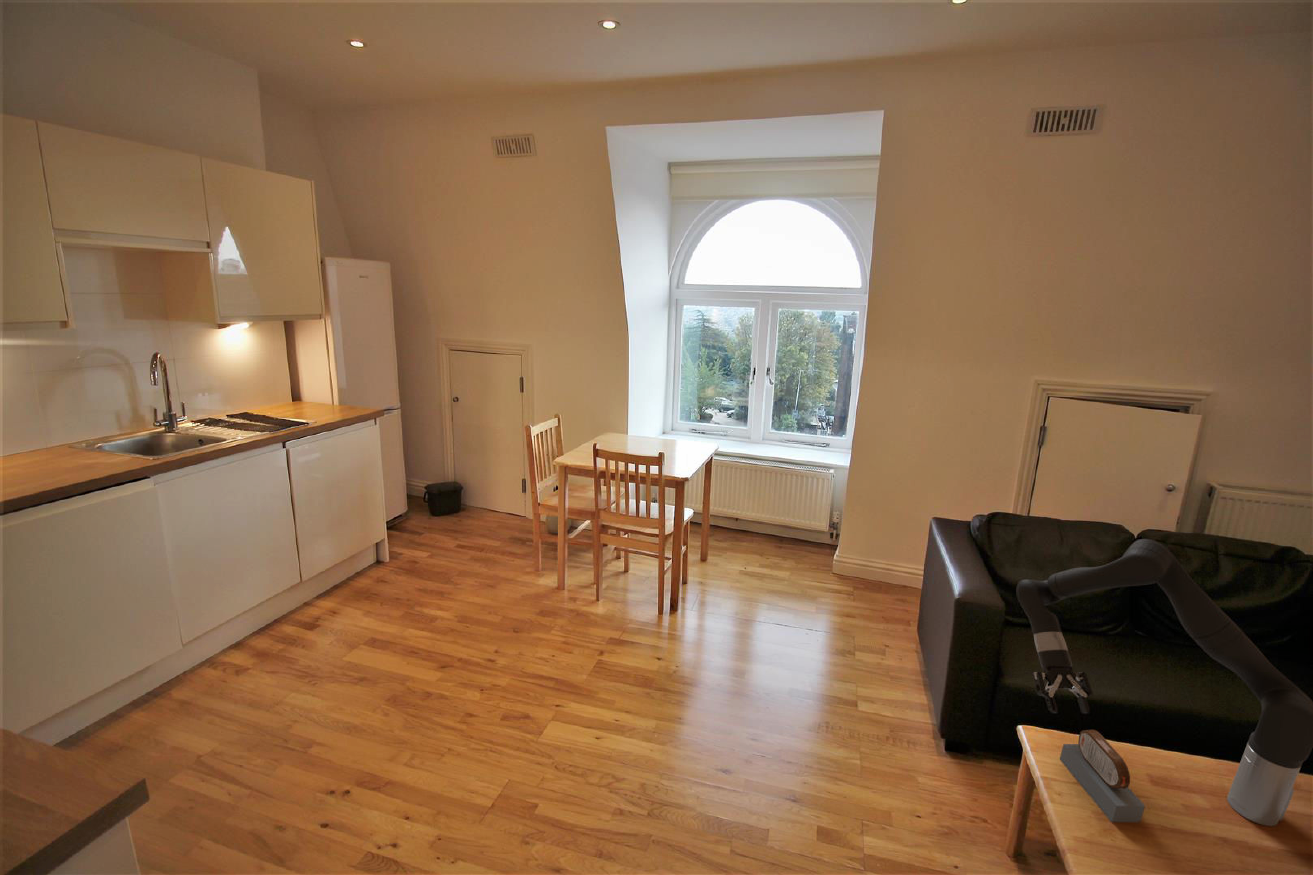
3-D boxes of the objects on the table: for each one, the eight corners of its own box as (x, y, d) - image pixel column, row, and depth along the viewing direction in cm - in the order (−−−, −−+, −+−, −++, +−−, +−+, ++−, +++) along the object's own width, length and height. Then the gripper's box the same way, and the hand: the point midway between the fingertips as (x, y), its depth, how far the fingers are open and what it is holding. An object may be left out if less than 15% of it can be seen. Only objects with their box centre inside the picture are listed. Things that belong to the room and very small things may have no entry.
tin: (1126, 796, 146) (1135, 768, 144) (1114, 796, 146) (1122, 768, 144) (1084, 748, 161) (1091, 722, 158) (1072, 748, 161) (1079, 721, 158)
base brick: (1085, 759, 164) (1089, 744, 162) (1140, 822, 146) (1145, 805, 144) (1059, 758, 164) (1063, 743, 162) (1111, 822, 145) (1116, 805, 144)
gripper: (1035, 647, 168) (1053, 711, 161) (1085, 648, 169) (1105, 712, 161) (1020, 652, 175) (1036, 713, 167) (1068, 652, 176) (1086, 714, 168)
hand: (1070, 712), depth 164 cm, fingers open, 8 cm apart
